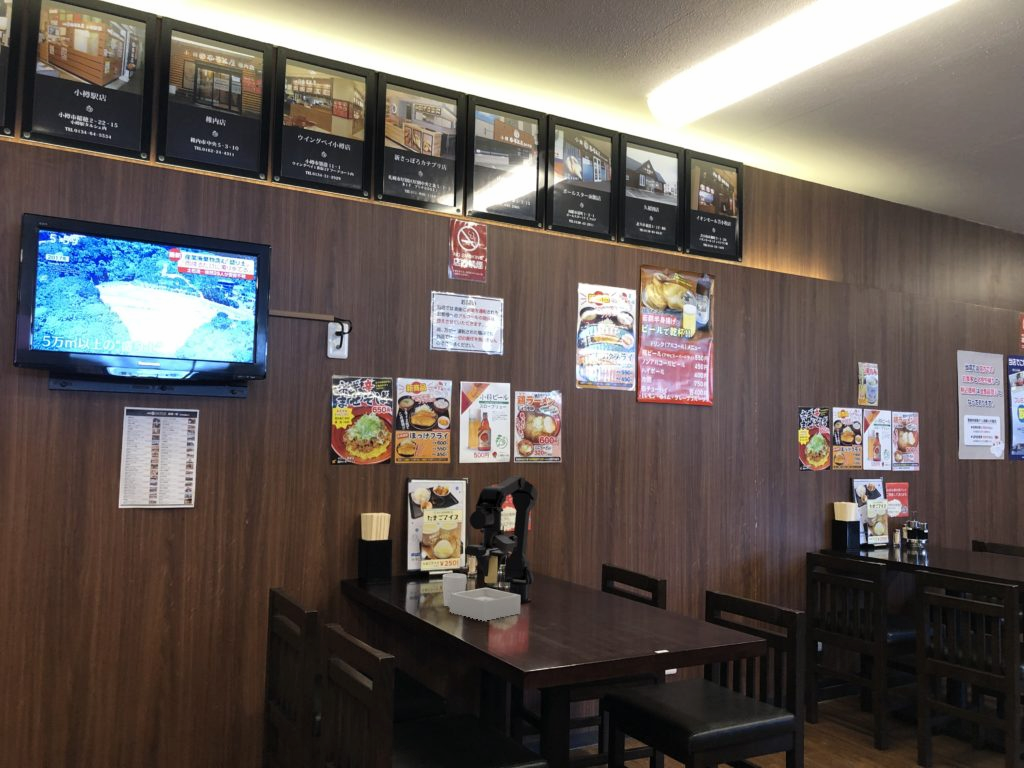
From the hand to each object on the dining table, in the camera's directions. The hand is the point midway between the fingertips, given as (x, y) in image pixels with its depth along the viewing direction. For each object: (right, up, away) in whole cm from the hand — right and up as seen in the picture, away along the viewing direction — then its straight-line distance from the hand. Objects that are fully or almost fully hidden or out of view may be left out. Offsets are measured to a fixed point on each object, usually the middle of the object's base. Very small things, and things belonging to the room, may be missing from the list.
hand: (490, 575), depth 258 cm
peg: (0, -2, 0) cm, 2 cm away
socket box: (-2, -12, 0) cm, 12 cm away
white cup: (-13, -13, +10) cm, 21 cm away
